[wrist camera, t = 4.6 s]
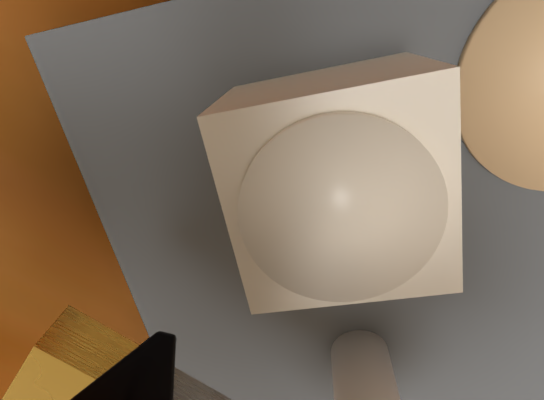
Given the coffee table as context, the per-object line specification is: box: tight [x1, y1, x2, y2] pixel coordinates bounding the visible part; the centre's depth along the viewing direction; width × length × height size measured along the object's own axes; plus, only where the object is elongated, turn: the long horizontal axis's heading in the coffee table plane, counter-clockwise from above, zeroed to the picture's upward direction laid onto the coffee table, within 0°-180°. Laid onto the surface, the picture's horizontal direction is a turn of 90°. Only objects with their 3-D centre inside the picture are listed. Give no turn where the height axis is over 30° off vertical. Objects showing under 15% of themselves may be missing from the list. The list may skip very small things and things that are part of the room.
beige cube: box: [197, 52, 463, 315], centre depth 11 cm, size 5×5×5 cm
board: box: [24, 0, 544, 400], centre depth 12 cm, size 19×20×7 cm
